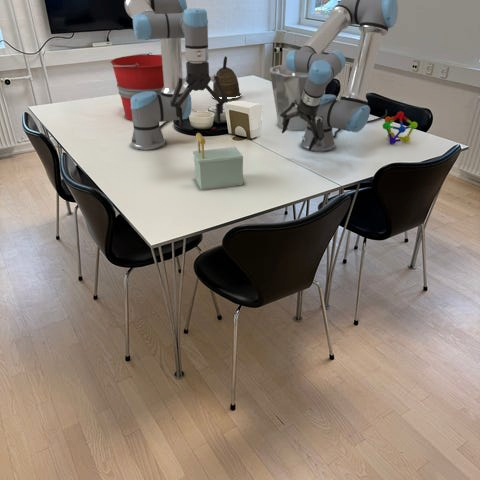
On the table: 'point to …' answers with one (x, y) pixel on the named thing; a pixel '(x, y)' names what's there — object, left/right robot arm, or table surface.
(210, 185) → the chest
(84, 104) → the table surface
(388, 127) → the educational toy
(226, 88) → the bell
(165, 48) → the left robot arm
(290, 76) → the bucket
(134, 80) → the bucket
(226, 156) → the lid
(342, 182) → the table surface
